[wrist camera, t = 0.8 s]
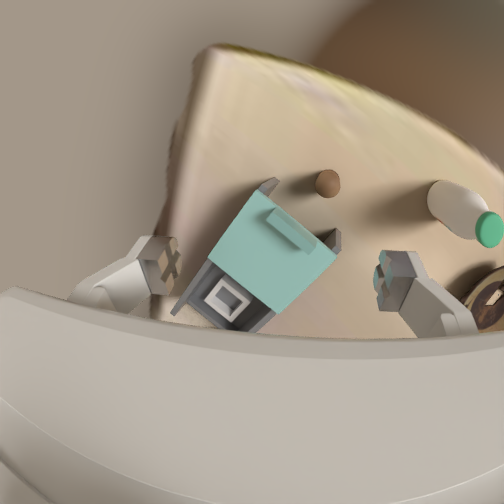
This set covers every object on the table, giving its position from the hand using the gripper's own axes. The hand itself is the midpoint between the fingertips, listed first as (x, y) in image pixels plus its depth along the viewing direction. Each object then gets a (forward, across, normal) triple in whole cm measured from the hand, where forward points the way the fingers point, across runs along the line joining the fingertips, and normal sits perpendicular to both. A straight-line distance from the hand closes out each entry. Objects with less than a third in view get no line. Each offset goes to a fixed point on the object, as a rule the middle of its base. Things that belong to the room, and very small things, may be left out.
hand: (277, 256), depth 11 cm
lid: (+27, -3, -22) cm, 35 cm away
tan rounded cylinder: (+39, +7, -13) cm, 41 cm away
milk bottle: (+36, +30, -12) cm, 48 cm away
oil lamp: (+27, +52, -33) cm, 67 cm away
